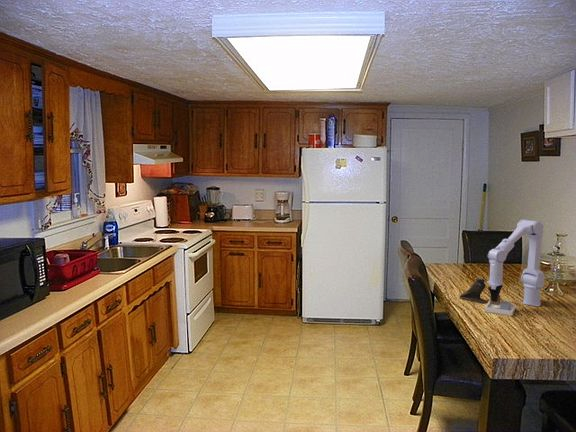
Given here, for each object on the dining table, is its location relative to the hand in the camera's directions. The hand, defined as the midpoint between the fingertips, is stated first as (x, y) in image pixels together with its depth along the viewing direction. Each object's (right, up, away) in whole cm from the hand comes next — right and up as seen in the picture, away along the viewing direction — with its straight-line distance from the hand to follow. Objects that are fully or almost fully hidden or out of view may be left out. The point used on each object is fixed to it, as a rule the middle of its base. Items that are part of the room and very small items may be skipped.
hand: (494, 300), depth 219 cm
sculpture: (-4, -3, +17) cm, 18 cm away
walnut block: (0, -2, 0) cm, 2 cm away
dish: (+2, -5, -1) cm, 6 cm away
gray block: (+4, -5, -2) cm, 7 cm away
